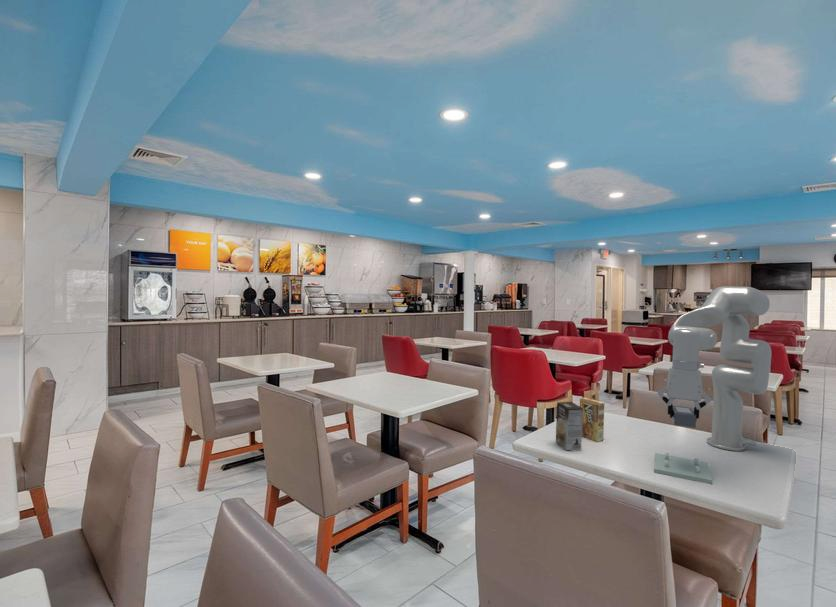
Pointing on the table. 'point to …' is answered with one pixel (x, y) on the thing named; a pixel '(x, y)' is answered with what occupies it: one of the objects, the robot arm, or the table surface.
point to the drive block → (684, 416)
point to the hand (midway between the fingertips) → (682, 418)
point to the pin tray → (682, 468)
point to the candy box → (592, 419)
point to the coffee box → (569, 425)
